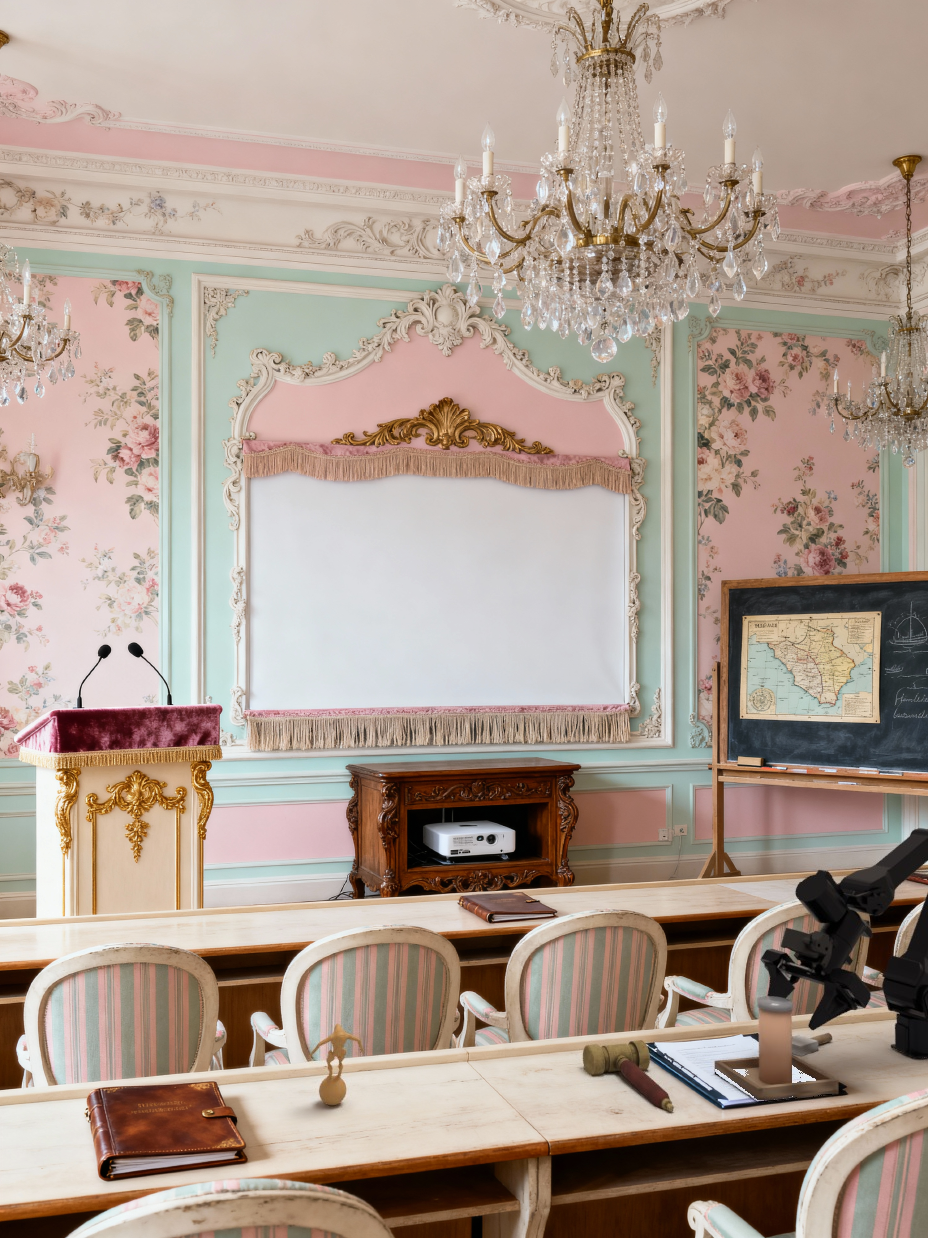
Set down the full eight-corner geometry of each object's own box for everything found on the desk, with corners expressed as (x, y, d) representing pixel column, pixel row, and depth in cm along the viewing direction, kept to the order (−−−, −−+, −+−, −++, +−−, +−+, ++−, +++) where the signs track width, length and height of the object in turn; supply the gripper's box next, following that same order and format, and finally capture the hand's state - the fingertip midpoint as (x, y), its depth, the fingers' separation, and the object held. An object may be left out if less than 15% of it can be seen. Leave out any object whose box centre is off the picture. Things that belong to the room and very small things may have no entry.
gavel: (702, 1090, 153) (641, 1096, 150) (702, 1121, 153) (640, 1129, 150) (638, 1036, 173) (582, 1041, 170) (637, 1063, 173) (581, 1069, 170)
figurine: (355, 1096, 156) (357, 1013, 157) (367, 1110, 151) (369, 1025, 152) (301, 1103, 153) (303, 1019, 154) (311, 1118, 147) (313, 1031, 148)
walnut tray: (790, 1066, 172) (790, 1053, 172) (838, 1094, 160) (838, 1080, 160) (714, 1073, 168) (714, 1061, 168) (758, 1102, 156) (758, 1088, 156)
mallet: (819, 1038, 187) (819, 1029, 187) (838, 1044, 184) (838, 1035, 184) (780, 1049, 180) (780, 1040, 180) (800, 1056, 177) (800, 1046, 177)
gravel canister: (768, 1071, 168) (767, 994, 169) (799, 1080, 164) (799, 1001, 165) (751, 1079, 164) (751, 1000, 165) (783, 1088, 160) (782, 1008, 161)
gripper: (767, 900, 178) (719, 974, 172) (855, 920, 162) (806, 1004, 156) (802, 941, 181) (756, 1016, 175) (892, 966, 165) (845, 1049, 159)
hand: (788, 1020), depth 166 cm, fingers open, 9 cm apart
